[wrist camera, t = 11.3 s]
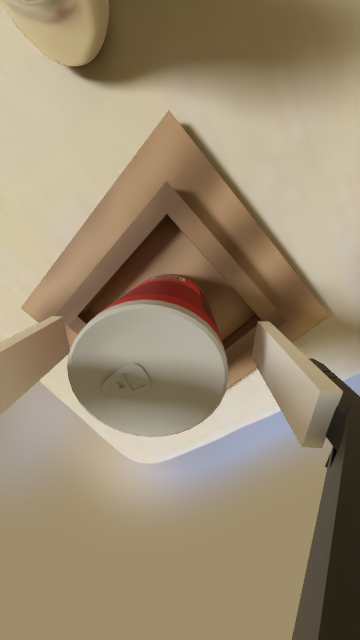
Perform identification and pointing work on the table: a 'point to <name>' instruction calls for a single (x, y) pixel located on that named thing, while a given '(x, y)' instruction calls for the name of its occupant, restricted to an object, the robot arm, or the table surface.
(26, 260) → the table surface
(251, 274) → the walnut holder
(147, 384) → the canned food
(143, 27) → the table surface
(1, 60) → the table surface
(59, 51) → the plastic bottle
